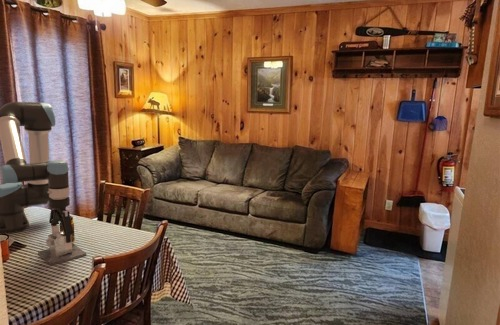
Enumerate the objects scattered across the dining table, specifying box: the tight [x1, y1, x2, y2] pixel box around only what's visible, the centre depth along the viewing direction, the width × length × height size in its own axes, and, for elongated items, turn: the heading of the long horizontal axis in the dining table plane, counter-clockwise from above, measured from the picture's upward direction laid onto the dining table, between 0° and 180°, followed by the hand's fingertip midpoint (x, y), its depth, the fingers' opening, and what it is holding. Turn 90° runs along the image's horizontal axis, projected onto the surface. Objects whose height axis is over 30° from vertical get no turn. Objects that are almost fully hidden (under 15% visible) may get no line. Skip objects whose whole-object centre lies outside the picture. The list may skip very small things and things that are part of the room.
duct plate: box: [37, 231, 87, 267], centre depth 144 cm, size 15×14×10 cm
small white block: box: [45, 233, 73, 257], centre depth 143 cm, size 8×7×8 cm
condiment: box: [58, 215, 77, 244], centre depth 157 cm, size 7×8×12 cm
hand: (61, 244), depth 144 cm, fingers open, 13 cm apart
